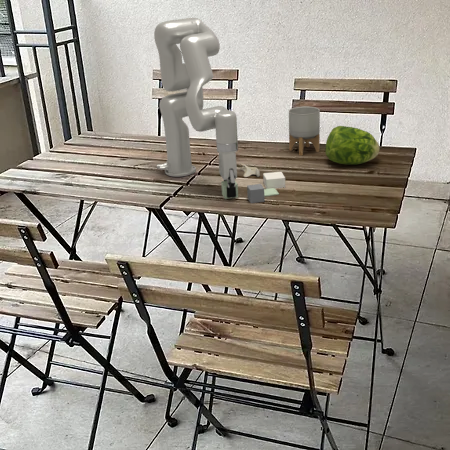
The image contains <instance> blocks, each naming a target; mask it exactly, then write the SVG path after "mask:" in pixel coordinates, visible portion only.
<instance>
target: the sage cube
mask: <svg viewBox="0 0 450 450" xmlns="http://www.w3.org/2000/svg"><path fill="white" fill-rule="evenodd" d="M230 181H231V180H230ZM230 181H229V182H230ZM220 184H221V195H222V197H223V199H224V200H227V199H228V200H229V199H230V198H228V197H227V181H224V180H221V183H220ZM235 186H236V197H232V198H231V199H236V198H239V187H238V186H239V185H238V183H237V181H236V180H235Z"/></svg>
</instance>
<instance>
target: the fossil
mask: <svg viewBox="0 0 450 450" xmlns="http://www.w3.org/2000/svg"><path fill="white" fill-rule="evenodd" d="M239 165H242V166H241V167H240V170H241V171H243V172H244V174H243V177H244V178H248V177H250V176H252V175H256V177H257V178H259V177H260V175H261V173H260V172H261V171H260V170H259V169H258V167H255V166H248V165H246V164H245V163H240V164H239Z"/></svg>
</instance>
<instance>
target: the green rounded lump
mask: <svg viewBox="0 0 450 450" xmlns="http://www.w3.org/2000/svg"><path fill="white" fill-rule="evenodd" d="M380 149H381V148H380V144H379V142H378V141H377V140H376V139H375V137H374V135H372V134H371V133H370V132H368V131H367V130H366V131H365V130H363V129H360V128H357V127H353V126H344V125H338V126H335V127H333V128H332V130H331V131H330V132H329V134H328V136H327V138H326V142H325V155H326V157H327V159H328V160H329V161H332V162H334V163H337V164H339V165H350V166H351V165H360V164H361V165H362V164H364V163H365V164H366V163H367V162H369V161H371V160H374V159H375V158H376V157H377V156H378V154H379V153H380Z"/></svg>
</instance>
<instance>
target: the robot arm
mask: <svg viewBox="0 0 450 450" xmlns="http://www.w3.org/2000/svg"><path fill="white" fill-rule="evenodd" d="M153 33H154V35H153V37H154V38H153V39H154V43H155V46H156V48H157V52H158V57H159V68H160V79H161V85H162V87H163V89H164V90H165V91H166V92H175V91H180V92H175V93H172V94H167V95H166V96H163V97H162V98H161V100H160V101H159V110H160V114H161V118H162V121H163V127H164V136H165V146H166V148H165V149H166V156H167V158H166V162H164V163H156V170H157V169H158V170H160V171H163V170H164V174H165V175H166V176H169V177H174V178H175V177H176V178H177V177H187V176H189V175H190V176H191V175H193V174H194V173H196V171H197V168H196V166H195V165H193V164H192V154H191V152H192V151H191V140H190V139H191V138H190V129H189V127H188V124H187V123H186V122H185V121H184V120H183V118H186V117H188V119H189V121H190V124H191V127H192V128H193V130H195V131H197V132H199V133H201V132H207V131H210V130H215V142H216V152H217V153H218V172H219V175H220V176H221V178H222V181H227V197H228V198H229V199H233V198H232V197H236V186H235V181H236V179H237V178H238V168H237V167H238V166H237V155H236V153H237V152H238V151H239V142H238V139H239V138H238V124H237V123H238V120H237V119H238V118H237V113H236V112H235V111H233V110H228V109H227V108H226V107H225V106H222V105H217V106H212V107H207V108H204V91H203V90H204V86H205V85H206V84H208V83H209V82H211V80H213V78H214V72H213V69H212V66H211V63H210V60H209V57H215V56H217V55H218V54H219V52H220V50H221V49H220V48H221V46H220V41H219V38H218V36H217V35H216V33H215V32H214V31H213V30H212V29H211V28H210V27H209V26H208V25H206V23H205V22H204V21H202V20H201V19H199V18H198V17H188V18H186V17H185V18H179V19H171V20H165V21H163V22H160V23H158V24H157V25H156V26H155V28H154V32H153ZM178 45H179V46H178ZM183 62H184V63H183ZM185 89H186V91H183V92H181V91H182V90H185ZM230 180H231V181H230ZM229 181H230V182H229Z"/></svg>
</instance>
